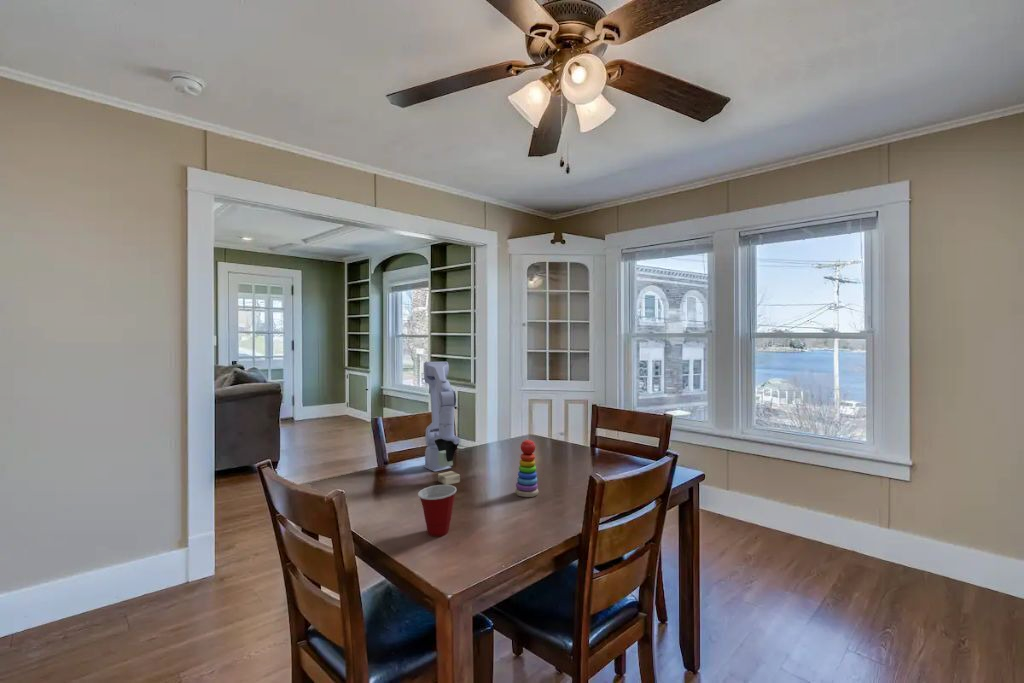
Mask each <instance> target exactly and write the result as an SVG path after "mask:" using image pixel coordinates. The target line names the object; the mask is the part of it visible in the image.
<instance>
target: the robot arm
mask: <svg viewBox="0 0 1024 683" xmlns="http://www.w3.org/2000/svg"><path fill="white" fill-rule="evenodd" d="M449 371H450V366H449V362H448V361H446V360H444V361H427V360H426V361H425V362H424V363H423V379H424V383H427V384H428V386H429V390H430V392H429V394H430V410H431V411H430V412H431V423H430V424H429V425H428V426H427V427H426V428H425V437H424V438H425V439H424V440H425V445H426V448H425V451H424V465H422V467H423V468H425V469H428V470H430V471H432V472H434V473H435V472H439V471H444V470H449V469H452V466H447V467H442V466H440V465H438V451H443V450H446V458H447V461H448V462H449V461H453V462H454V456H455V453H456V450H457V448H458V446H459V444H461V442H460V441H461V438H460V437H458V436H456V434H455V407H456V406H457V394H456V391H455V390H454V389H452V386H451V383H450V381H449V380H448V377H449V376H448V375H449Z"/></svg>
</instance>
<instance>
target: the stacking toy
mask: <svg viewBox="0 0 1024 683" xmlns="http://www.w3.org/2000/svg"><path fill="white" fill-rule="evenodd" d="M520 450H521V452H522V453H521V454H520V460H519V466H518V470H519V471H518V472H517V476H518V477H517V478H516V480H517V482H516V484H515V487H516V488H515V494H516V495H517V496H519V497H521V498H533V497H536V496H537V495H538V494H539V491H540V490H539V489H538V478H537V476H538V474H537V466H536V460H535V459H536V456H535V454H534V452H535V450H536V445H535V442H534V441H533V440H531V439H525V440H523V441H522V442H521V444H520Z"/></svg>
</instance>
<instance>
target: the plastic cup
mask: <svg viewBox="0 0 1024 683" xmlns="http://www.w3.org/2000/svg"><path fill="white" fill-rule="evenodd" d="M456 493H457V487H456V486H454V485H452V484H449V485H444V484H437V485H430V486H428V487H424V488H423V489H420V490H419V491H418V492H417V496H418V498H419V500H420V502H421V504H422V509H423V514H424V521H425V525H426V532H427V534H428V535H429V536H431V537H437V538H438V537H443V536H446V535H448V533H449V530H450V526H451V521H452V515H453V508H454V502H455V496H456Z"/></svg>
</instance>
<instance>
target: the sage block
mask: <svg viewBox="0 0 1024 683" xmlns="http://www.w3.org/2000/svg"><path fill="white" fill-rule="evenodd" d="M438 465H440V466H442V467H447V466H450V467H452V466H454V460H453V461H449V462H448V461H447V458H446V450H443V451H438Z"/></svg>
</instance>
